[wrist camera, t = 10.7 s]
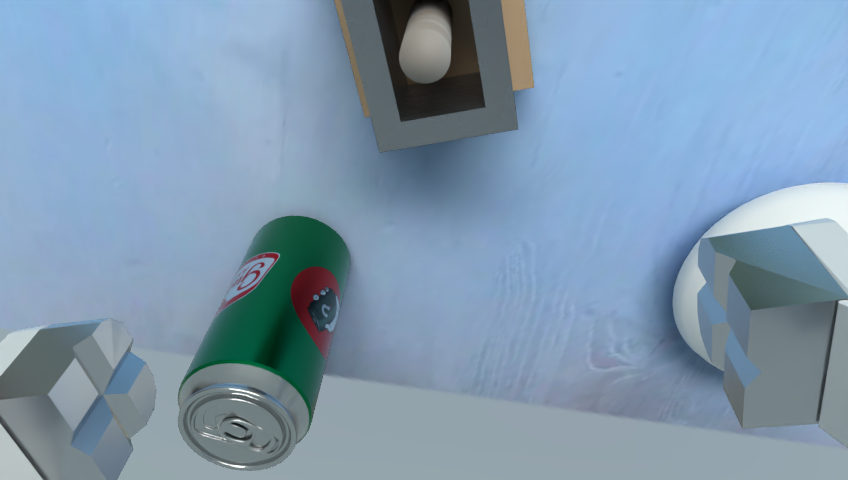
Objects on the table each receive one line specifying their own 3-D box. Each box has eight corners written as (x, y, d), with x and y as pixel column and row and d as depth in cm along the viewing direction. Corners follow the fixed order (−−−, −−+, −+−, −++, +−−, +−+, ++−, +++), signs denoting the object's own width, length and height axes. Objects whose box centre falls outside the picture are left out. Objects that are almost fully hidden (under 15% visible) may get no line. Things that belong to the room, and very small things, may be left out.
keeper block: (506, -112, 25) (524, -90, 18) (528, 68, 28) (550, 142, 22) (329, -73, 26) (282, -38, 19) (371, 96, 29) (345, 176, 23)
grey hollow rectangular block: (345, -71, 24) (326, -55, 20) (484, -102, 23) (488, -90, 19) (389, 111, 27) (379, 152, 24) (510, 90, 26) (518, 129, 23)
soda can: (278, 192, 32) (195, 359, 22) (369, 239, 33) (329, 418, 23) (239, 264, 35) (148, 445, 24) (325, 306, 36) (272, 494, 26)
